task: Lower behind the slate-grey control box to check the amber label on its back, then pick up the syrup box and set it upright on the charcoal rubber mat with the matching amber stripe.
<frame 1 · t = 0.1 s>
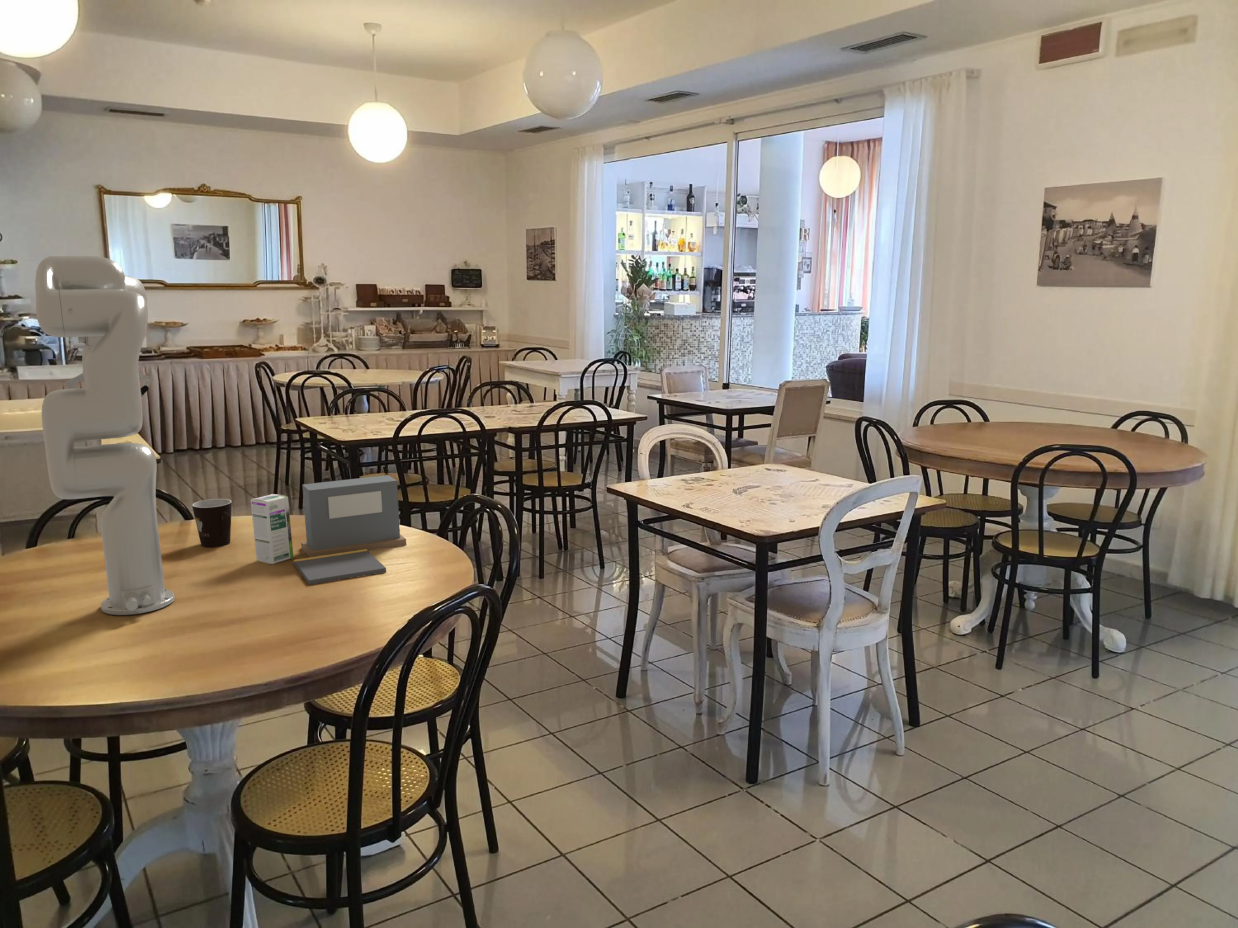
hand: (113, 416, 207), 31 cm above the table, tool pointing down, fingers open, 9 cm apart
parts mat: (339, 568, 197), on the table
coffee mug: (216, 546, 214), on the table
control box: (354, 546, 213), on the table
syrup box: (274, 560, 203), on the table
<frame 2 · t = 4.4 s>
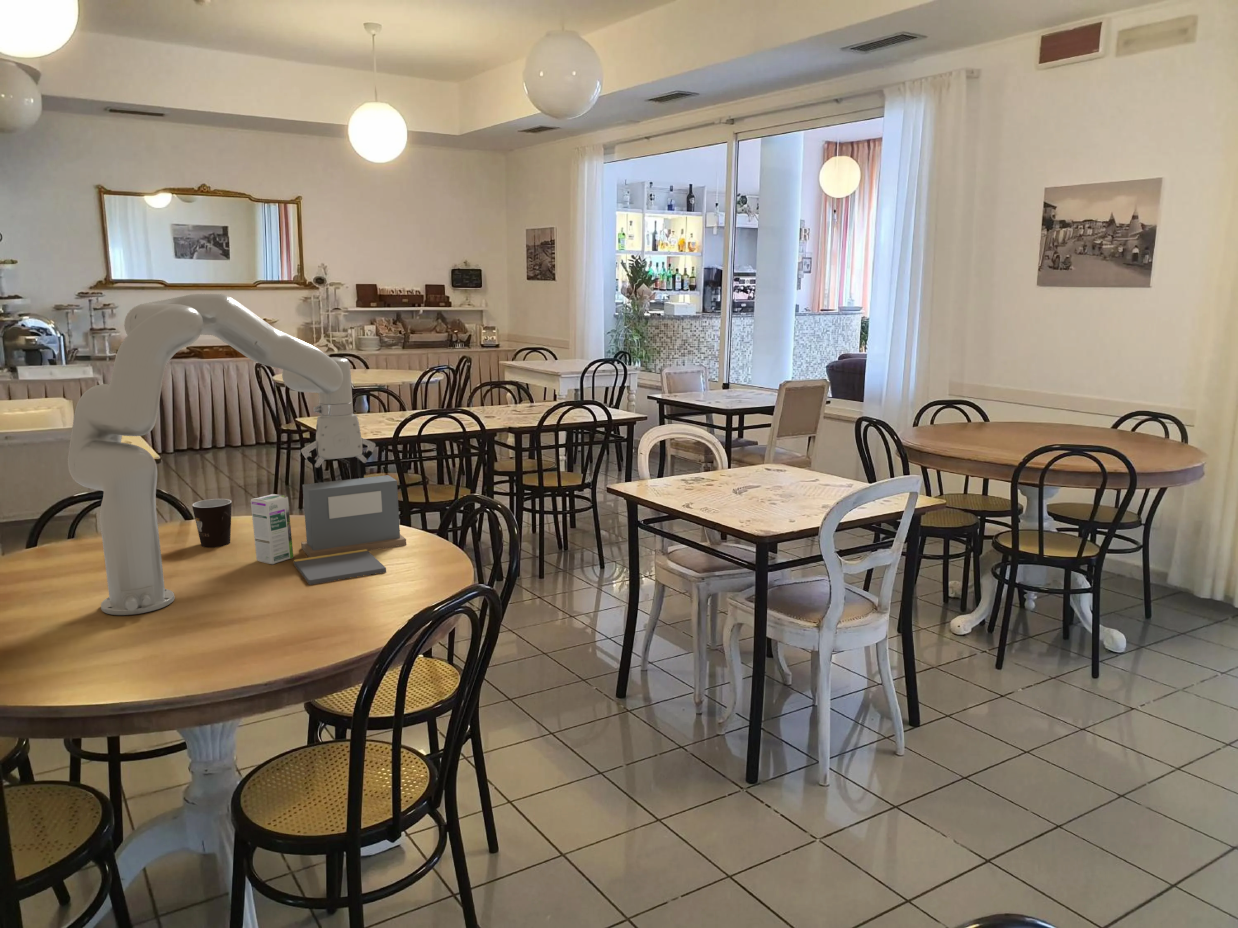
hand: (341, 480, 217), 14 cm above the table, tool pointing down, fingers open, 9 cm apart
nothing on the table moved.
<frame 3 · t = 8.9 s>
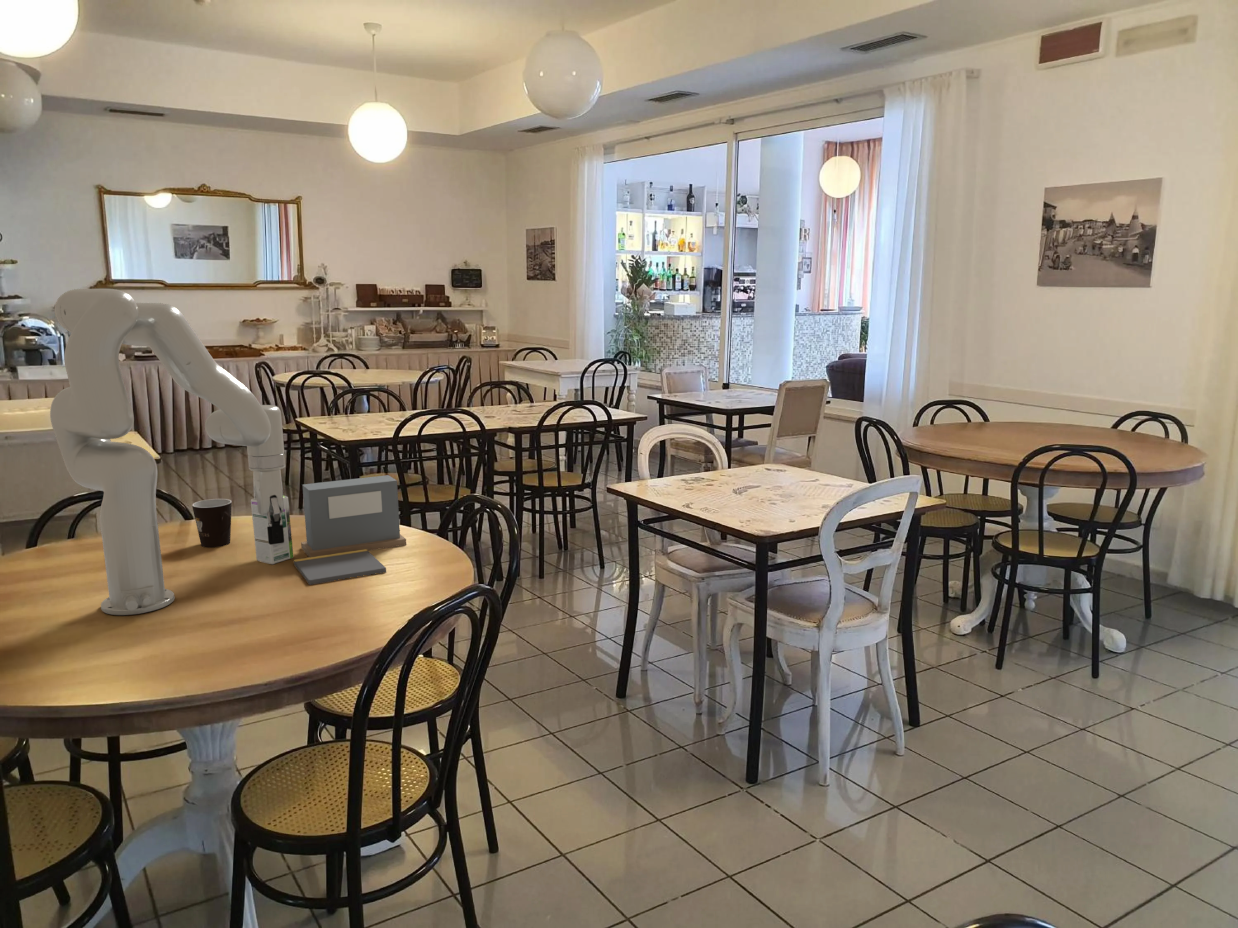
hand: (273, 538, 202), 5 cm above the table, tool pointing down, fingers closed on syrup box, 7 cm apart
syrup box: (274, 560, 203), on the table, touching gripper
everything else where it was.
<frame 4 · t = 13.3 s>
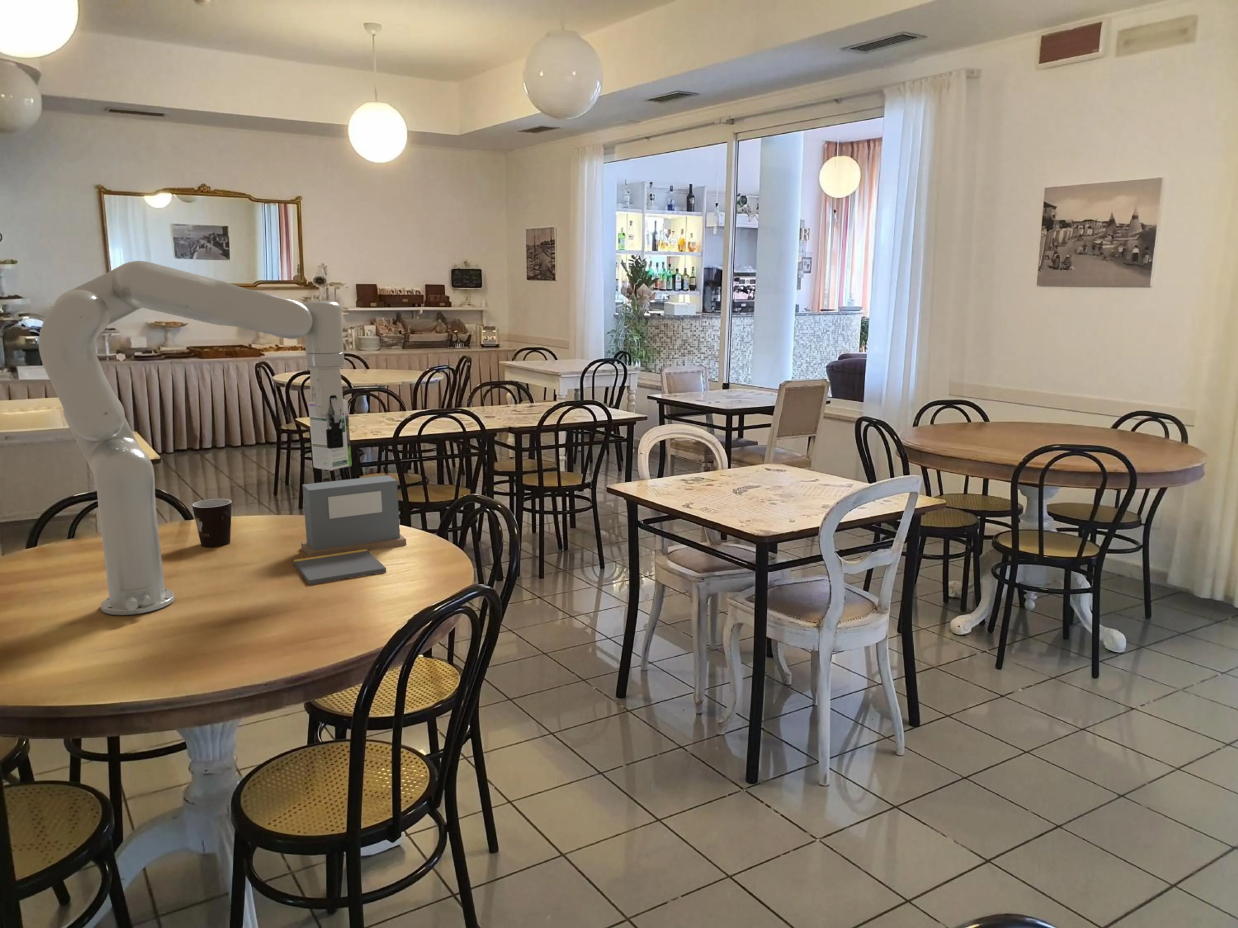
hand: (330, 444, 191), 27 cm above the table, tool pointing down, fingers closed on syrup box, 7 cm apart
syrup box: (332, 468, 192), point 22 cm above the table, touching gripper
everything else where it was.
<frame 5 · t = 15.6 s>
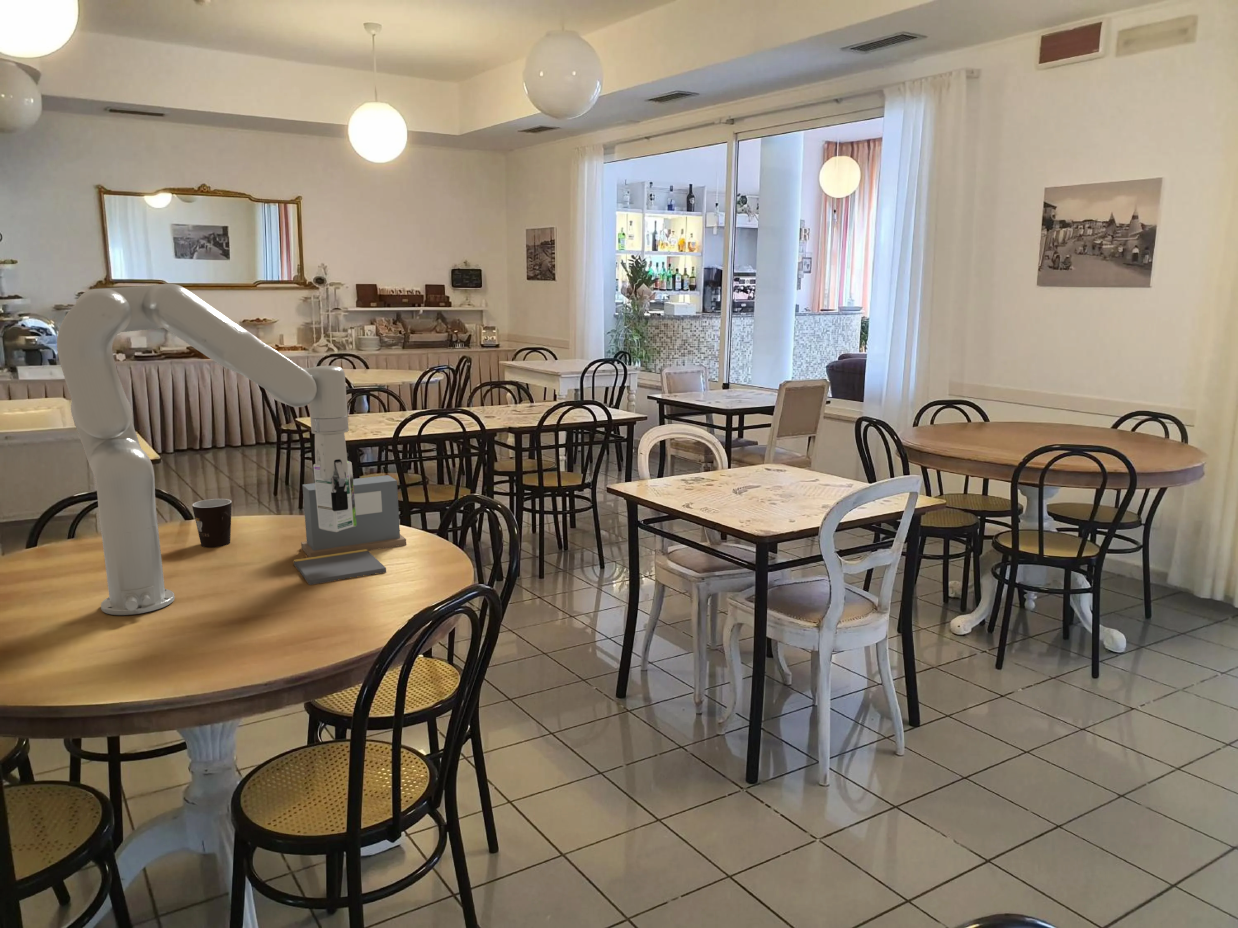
hand: (335, 505, 194), 14 cm above the table, tool pointing down, fingers closed on syrup box, 7 cm apart
syrup box: (337, 528, 195), point 9 cm above the table, touching gripper
everything else where it was.
when the fingers open (7 cm above the table, at t = 17.6 s): syrup box drops 1 cm, resting on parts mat.
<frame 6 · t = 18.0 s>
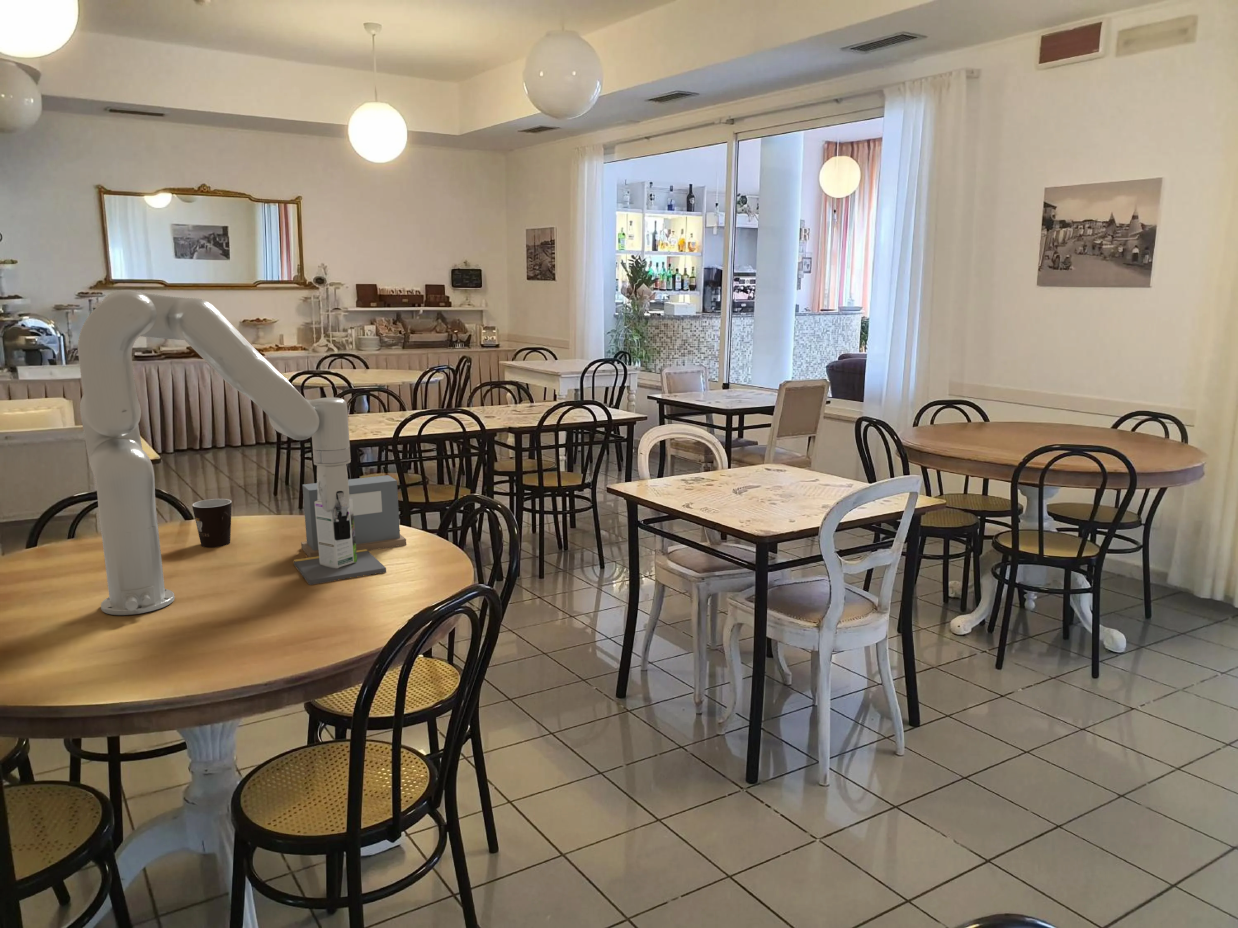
hand: (337, 533, 195), 8 cm above the table, tool pointing down, fingers open, 9 cm apart
syrup box: (338, 564, 197), point 1 cm above the table, touching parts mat
everything else where it was.
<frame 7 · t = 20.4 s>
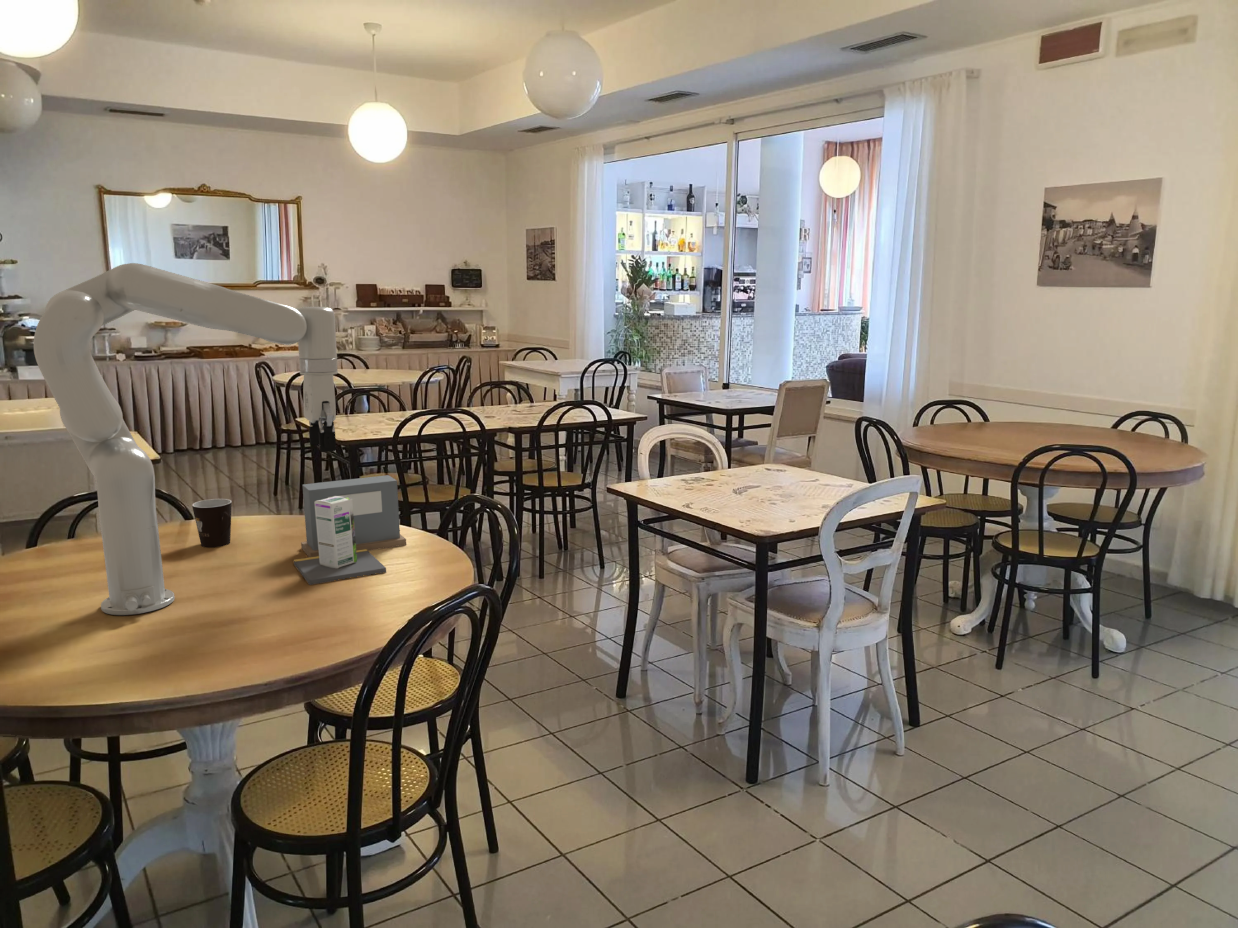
hand: (322, 447, 191), 27 cm above the table, tool pointing down, fingers open, 9 cm apart
nothing on the table moved.
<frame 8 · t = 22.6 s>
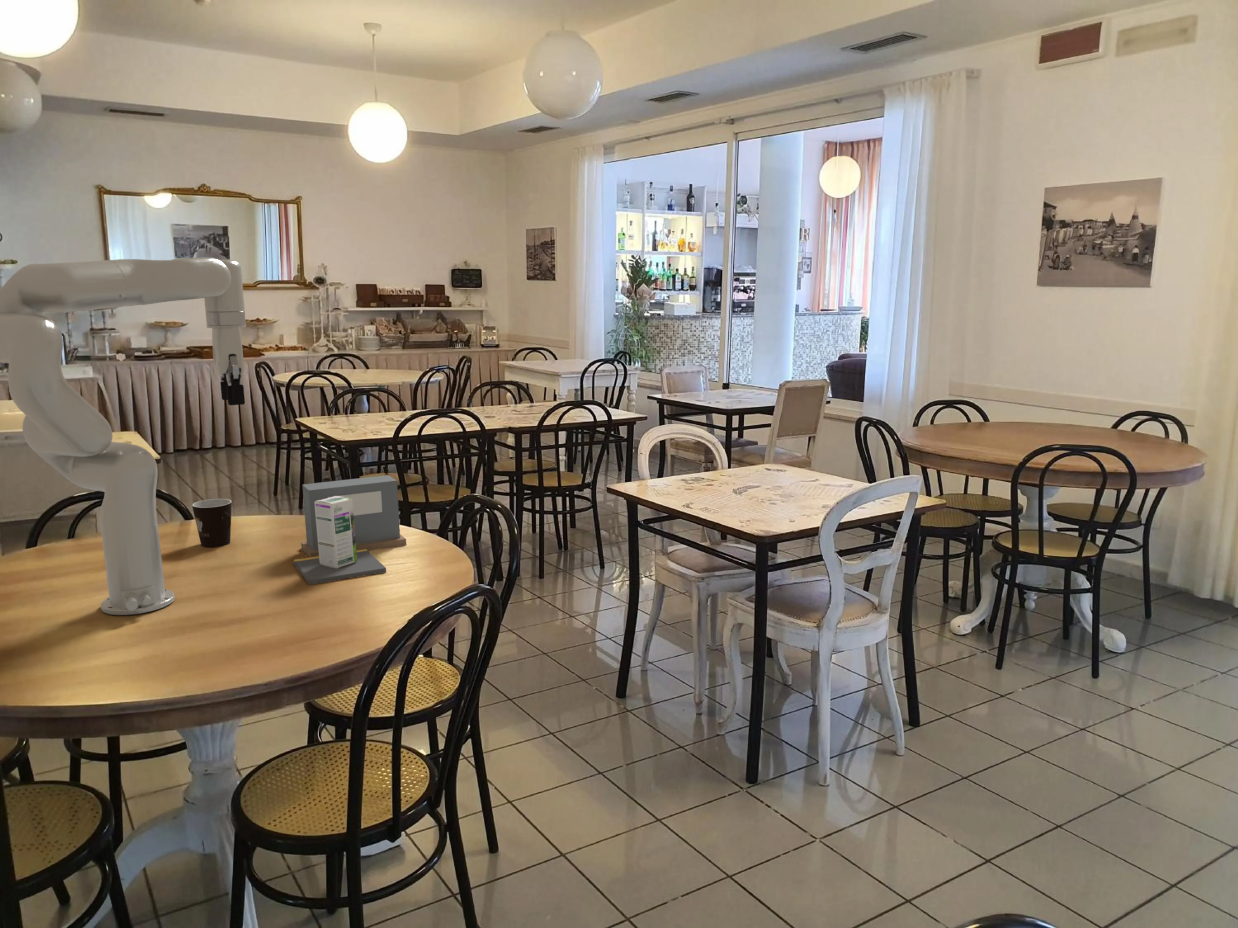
hand: (233, 402, 191), 36 cm above the table, tool pointing down, fingers open, 9 cm apart
nothing on the table moved.
at the end: syrup box inside the target area on the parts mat (0.3 cm from its centre), point 0.8 cm above the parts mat's base; syrup box tilted 0°; the gripper is holding nothing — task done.
